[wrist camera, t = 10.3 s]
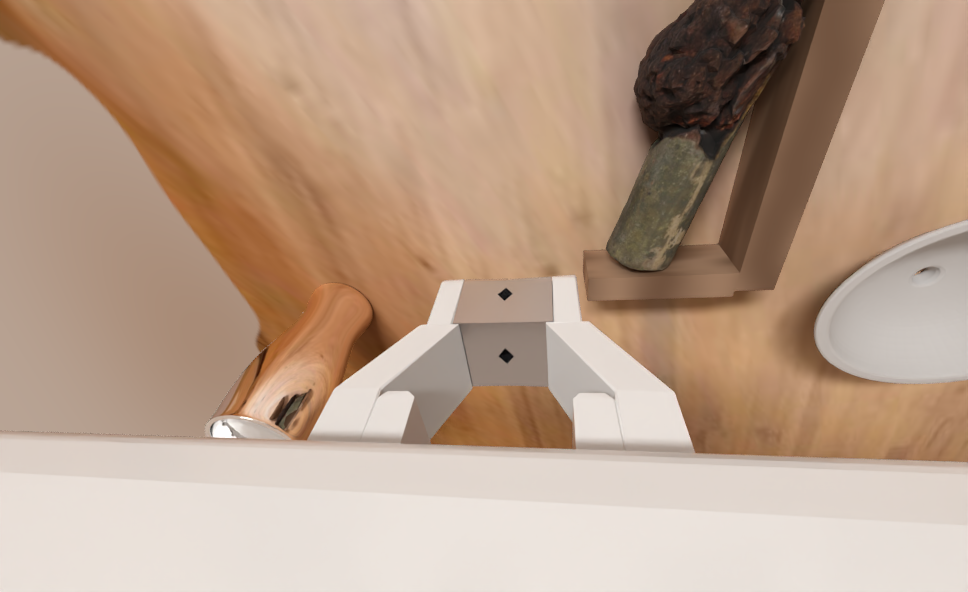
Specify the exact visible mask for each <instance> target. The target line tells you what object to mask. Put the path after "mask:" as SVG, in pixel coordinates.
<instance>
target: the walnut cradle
mask: <svg viewBox="0 0 968 592" xmlns="http://www.w3.org/2000/svg"><path fill="white" fill-rule="evenodd" d="M884 1H885V0H804V1H803V2H802V3H801V8H802V10H803V11H802V17H806V18H805V20H804V24H805V27H804V28H803V29H802V31H801V36H800V39H799V40H798V41H797V42H794V43H792V44H791V47H790V49H789V51H788V53H787V55H786V57H785V59H784V60H782V61H781V63H780V64H779V65H778V67H777V68H776V70H775V72H774V73H773V75H772V76H771V78H770V79H769V80H768V82H767V84H766V85H765V87H764V89H763V90H762V92H761V94H760V95H759V97H758V98H757V100H756V102H755V105H754V109H753V113H752V117H751V121H750V125H749V129H748V132H747V136H746V140H745V144H744V148H743V152H742V156H741V159H740V163H739V167H738V171H737V175H736V179H735V183H734V186H733V190H732V194H731V198H730V202H729V206H728V210H727V213H726V217H725V221H724V225H723V229H722V233H721V237H720V240H719V244H712V245H693V246H679V247H678V249H677V251H676V253H675V255H674V257H673V259H672V261H671V263H670V264H669V266H668V267H667V268H665V269H663V270H654V271H650V270H636V269H632V268H629V267H627V266H625V265H622V264H621V263H620V262H618V261H617V260H615V259H614V258H613V257H612V256H610V254H609V253H608V252H607V250H594V251H584V258H583V274H584V280H585V287H586V293H587V299H588V301H604V300H638V299H671V298H704V297H733V294H734V291H749V290H774V288H775V285H776V282H777V280H778V277H779V275H780V272H781V269H782V267H783V264H784V262H785V259H786V256H787V254H788V251H789V249H790V246H791V243H792V241H793V238H794V236H795V233H796V230H797V228H798V225H799V222H800V220H801V217H802V215H803V212H804V209H805V207H806V204H807V202H808V199H809V196H810V194H811V191H812V189H813V186H814V183H815V181H816V178H817V176H818V173H819V170H820V168H821V165H822V163H823V160H824V157H825V155H826V152H827V150H828V147H829V144H830V142H831V139H832V136H833V134H834V131H835V129H836V126H837V123H838V121H839V118H840V116H841V113H842V110H843V108H844V105H845V103H846V100H847V97H848V95H849V92H850V90H851V87H852V84H853V82H854V79H855V77H856V74H857V71H858V69H859V66H860V64H861V61H862V58H863V56H864V53H865V51H866V48H867V45H868V43H869V40H870V37H871V35H872V32H873V30H874V27H875V24H876V22H877V19H878V17H879V14H880V11H881V9H882V6H883V4H884Z"/></svg>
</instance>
